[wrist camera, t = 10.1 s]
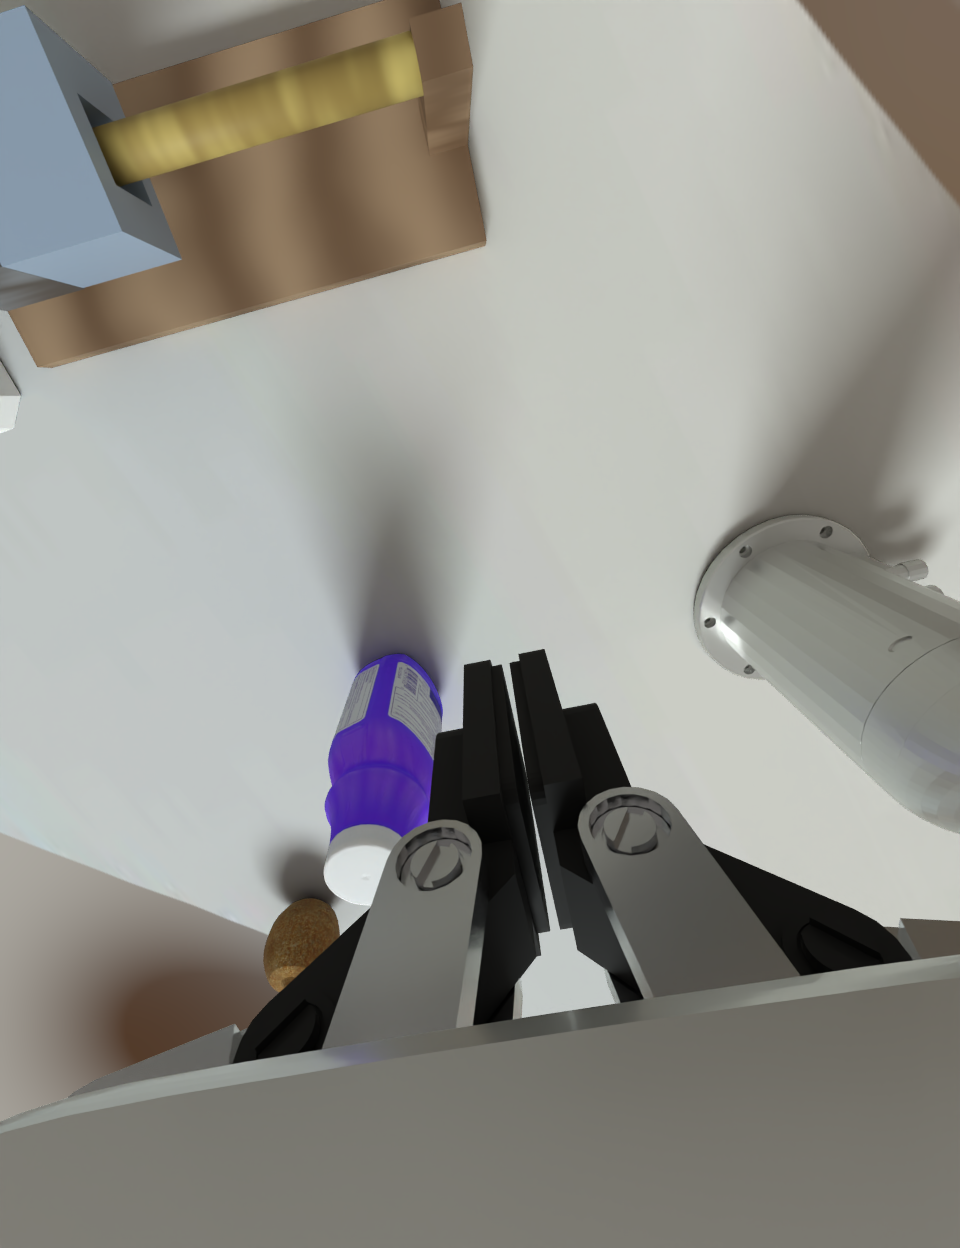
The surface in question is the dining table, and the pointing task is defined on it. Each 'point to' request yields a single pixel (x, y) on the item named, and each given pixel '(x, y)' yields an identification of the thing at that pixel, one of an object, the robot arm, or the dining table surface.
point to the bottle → (379, 772)
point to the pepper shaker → (8, 401)
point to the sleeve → (66, 167)
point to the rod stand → (279, 176)
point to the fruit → (298, 940)
